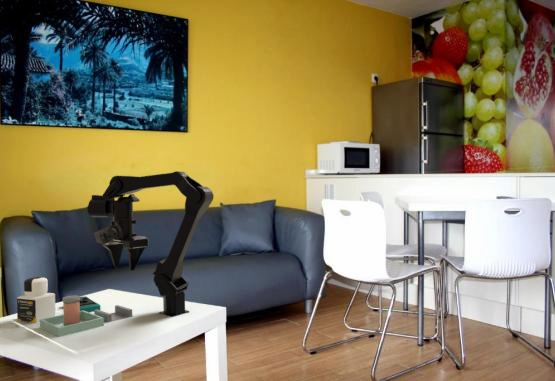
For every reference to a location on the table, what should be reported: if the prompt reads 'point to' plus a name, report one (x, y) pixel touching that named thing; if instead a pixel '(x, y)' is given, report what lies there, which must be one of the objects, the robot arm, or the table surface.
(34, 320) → the medicine bottle
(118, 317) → the grey cradle stand
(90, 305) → the digital multimeter
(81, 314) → the tray
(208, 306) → the table surface
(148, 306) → the table surface
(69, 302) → the fuse
